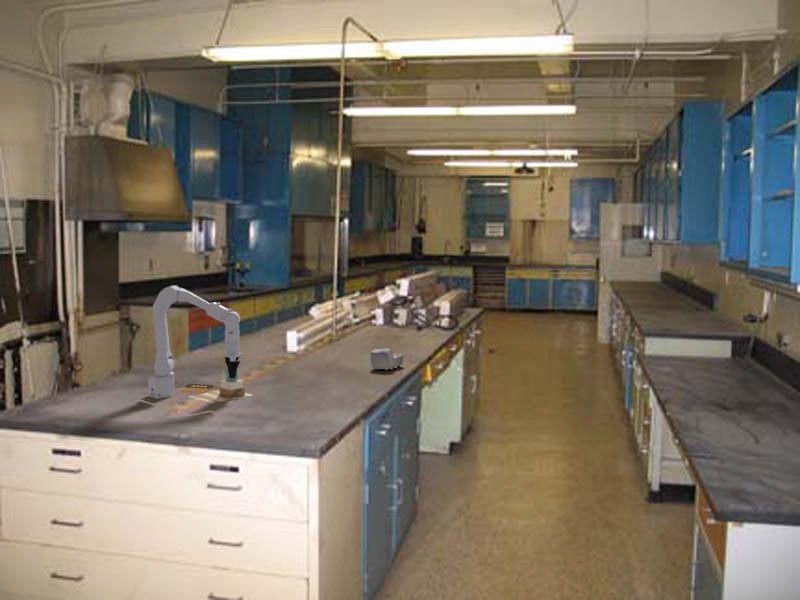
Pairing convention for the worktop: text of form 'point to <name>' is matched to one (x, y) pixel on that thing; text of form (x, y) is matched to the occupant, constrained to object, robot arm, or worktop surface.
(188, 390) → the ammunition clip
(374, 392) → the worktop surface
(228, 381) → the teal piece
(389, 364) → the grey stepped block
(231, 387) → the tower top
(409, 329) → the worktop surface
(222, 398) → the birch board
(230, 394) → the tower base
